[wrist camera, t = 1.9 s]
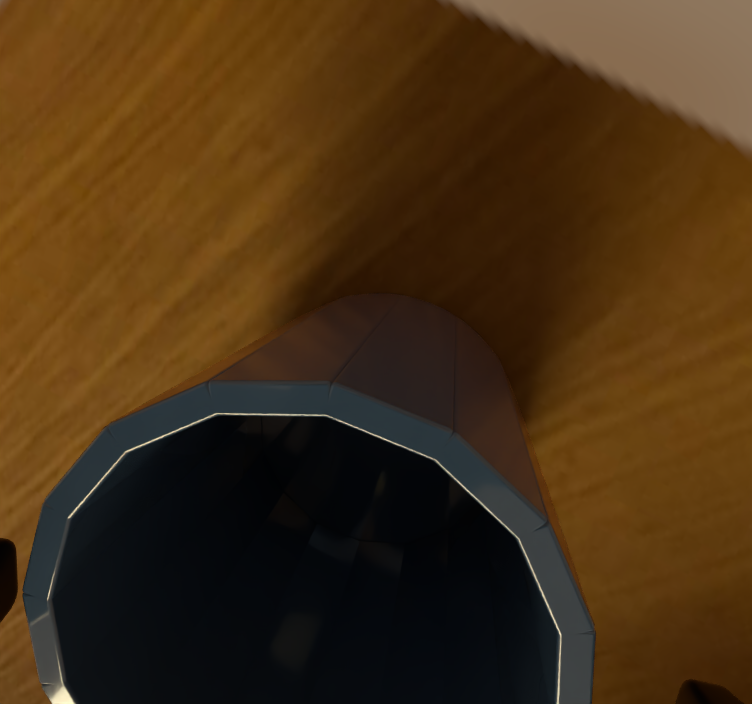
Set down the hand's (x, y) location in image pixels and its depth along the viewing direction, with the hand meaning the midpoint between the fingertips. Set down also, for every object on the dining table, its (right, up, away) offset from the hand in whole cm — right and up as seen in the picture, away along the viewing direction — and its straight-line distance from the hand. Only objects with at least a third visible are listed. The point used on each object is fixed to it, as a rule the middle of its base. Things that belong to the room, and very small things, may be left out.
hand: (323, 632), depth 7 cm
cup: (+1, +2, +7) cm, 7 cm away
